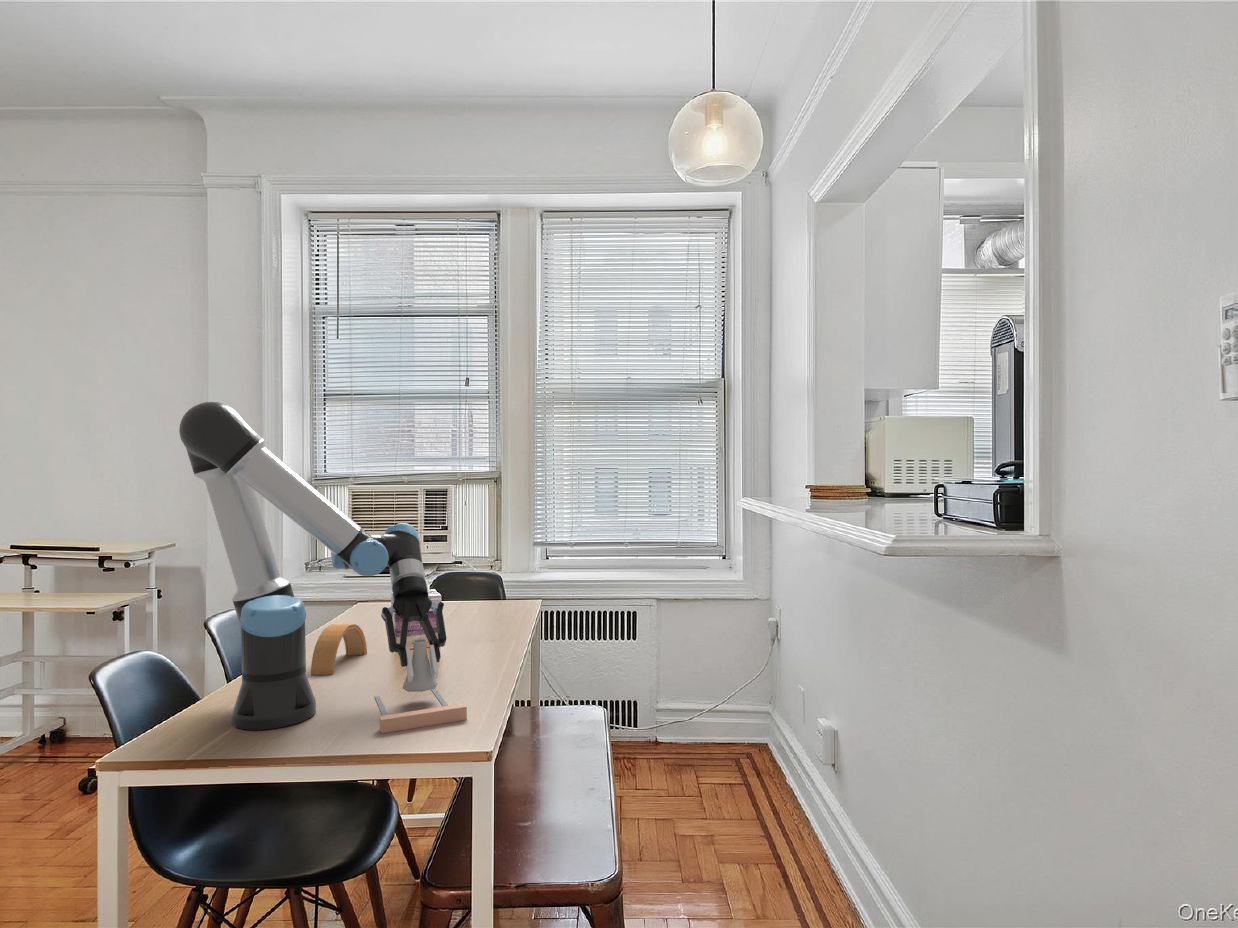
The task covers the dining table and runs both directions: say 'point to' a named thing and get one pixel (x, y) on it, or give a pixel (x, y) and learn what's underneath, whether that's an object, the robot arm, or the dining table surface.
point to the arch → (336, 646)
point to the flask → (420, 669)
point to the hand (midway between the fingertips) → (423, 677)
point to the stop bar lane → (421, 716)
